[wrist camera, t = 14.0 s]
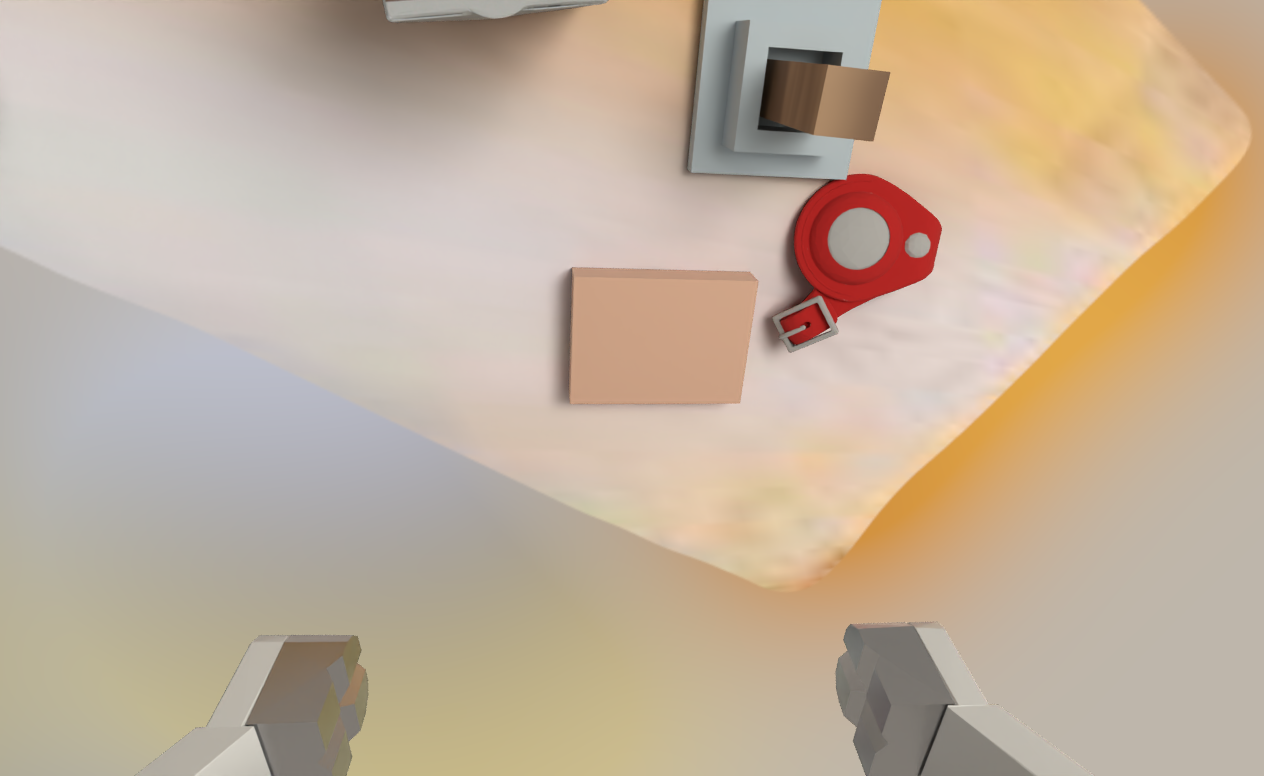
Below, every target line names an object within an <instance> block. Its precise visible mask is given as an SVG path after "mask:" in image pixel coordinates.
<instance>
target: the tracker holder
mask: <svg viewBox="0 0 1264 776" xmlns="http://www.w3.org/2000/svg"><path fill="white" fill-rule="evenodd" d="M941 231H942V227H941V224H940V222H939V221H938V219H937V218H936V217H935V216H934V215H933V214H932V213H930V212H929V211H928V210H927V209H926V208H924V207H923V206H922V205H921V204H919V203H918V202H917V201H916V200H915V199H913V198H912V197H911V196H910V195H908V194H907V193H905V192H904V191H902V190H901V189H899V188H898V187H896V186H895V185H893V184H891V183H890V182H888V181H886V180H884V179H882V178H879V177H877V176H874V175H869V174H854V175H848V176H847V179H846V180H841V179H836V180H834V181H831V182H829V183H828V184H826V185H825V186H823V187H822V188H821V189H819V190H818V191H817V192H816V193H815V194H814V195H813V196H812V197H811V198H810V199H809V201H808V202H807V203H806V205H805V206H804V208H803V210H802V211H801V213H800V216H799V218H798V220H797V224H796V228H795V234H794V250H795V256H796V260H797V263H798V265H799V267H800V270H801V272H802V273H803V275H804V276H805V278H806V279H807V281H808V282H809V283H810V284H811V285H812V286H813V287H814V289H813V291H812V292H811V293H810V294H809V295H808V297H807V298H806V299H805V300H804V301H803V302H802V303H801V304H799V305H797V306H795V307H792V308H790V309H788V310H786V311H784V312H781V313H779V314H777V315H775V316H773V318H772V320H773V322H774V323H775V325H776V327H777V329H778V331H779V333H780V336H779V338H780V339H783V341H784V343H785V345H786V347H787V349H788V351H789V352H794V351H796V350H799V349H801V348H804V347H806V346H809V345H811V344H814V343H816V342H819V341H821V340H823V339H826V338H828V337H831V336H833V335H836V334H838V332H839V330H838V328H837V326H836V324H835V323H836V322H837V317H839V316H841V315H842V314H844V313H846V312H847V311H849V310H851V309H853V308H855V307H857V306H859V305H861V304H863V303H865V302H867V301H869V300H871V299H873V298H875V297H878V296H881V295H884V294H887V293H890V292H893V291H896V290H898V289H901V288H904V287H906V286H909V285H911V284H914V283H917V282H919V281H921V280H923V279H925V278H926V277H927V276H928V275H929V274H930V273H931V272H932V270H933V268H934V262H935V257H936V253H937V249H938V244H939V240H940V235H941ZM829 328H831V331H829V332H826V333H824V334H821V335H819V334H820V333H822V332H824V331H825V330H827V329H829ZM817 335H819V336H817ZM815 336H816V337H815ZM813 337H814V338H813ZM794 344H796V345H794Z"/></svg>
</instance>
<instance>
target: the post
mask: <svg viewBox="0 0 1264 776" xmlns="http://www.w3.org/2000/svg"><path fill="white" fill-rule="evenodd" d="M889 76H890V72H884V71H876V70H868V69H860V68H852V67H843V66H835V65H827V64H816V63H805V62H795V61H784V60H773V59H767V64H766V71H765V78H764V86H763V93H762V100H761V107H760V115H759V117H762V118H765V119H768V120H771V121H774V122H777V123H780V124H783V125H785V126H788V127H791V128H794V129H797V130H800V131H803V132H806V133H808V134H811V135H816V136H826V137H835V138H845V139H854V140H864V141H873V140H874V136H875V132H876V128H877V124H878V120H879V116H880V112H881V108H882V104H883V100H884V96H885V92H886V88H887V84H888V80H889Z"/></svg>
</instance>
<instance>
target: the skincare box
mask: <svg viewBox="0 0 1264 776" xmlns="http://www.w3.org/2000/svg"><path fill="white" fill-rule="evenodd" d="M607 1H608V0H383V5H384V9H385V14H386V18H387V20H388V21H390V22H396V23H399V22H434V21H458V20H481V19H496V18H504V17H509V16H515V15H522V14H530V13H537V12H546V11H555V10H562V9H569V8H577V7H584V6H590V5H599V4H603V3H606V2H607Z"/></svg>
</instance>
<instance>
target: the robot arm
mask: <svg viewBox="0 0 1264 776" xmlns="http://www.w3.org/2000/svg"><path fill="white" fill-rule="evenodd" d="M843 640H844V643H845V645H846V648H847V650H848V651H846V652H845V653H844V654H843V655H842V656H841V657H839V659H838V663H837V668H836V690H837V695H838V699H839V703H840V706H841V709H842V712H843V715H844V716H845V717H846V718H847V719H848V720H849V721H850V722H851V723H852V724H854V725H855V726H856V727H857V728H856V732H855V736H854V739H853V742H854V745H855V748H856V750H857V753H858V756H859V759H860V761H861V764H862V767H863V769H864V772H865V775H866V776H1095V775H1093V774H1092V773H1090V772H1089V771H1088V770H1086V769H1085V768H1084V767H1082V766H1081V765H1079V764H1078V763H1077V762H1076V761H1074V760H1073V759H1071V758H1070V757H1069V756H1067V755H1066V754H1065V753H1063V752H1062V751H1061V750H1059V749H1058V748H1056V747H1055V746H1054V745H1052V744H1051V743H1050V742H1048V741H1047V740H1046V739H1044V738H1043V737H1042V736H1040V735H1039V734H1037V733H1036V732H1035V731H1033V730H1032V729H1030V728H1029V727H1028V726H1027V725H1025V724H1024V723H1022V722H1021V721H1020V720H1018V719H1017V718H1016V717H1014V716H1013V715H1012V714H1010V713H1009V712H1008V711H1006V710H1005V709H1003V708H1002V707H1001V706H999V705H998V704H989V703H988V702H987V700H986V698H985V697H984V695H983V693H982V692H981V690H980V688H979V686H978V685H977V683H976V681H975V680H974V678H973V676H972V675H971V673H970V671H969V669H968V668H967V666H966V664H965V663H964V661H963V659H962V657H961V656H960V654H959V652H958V651H957V649H956V647H955V645H954V644H953V642H952V640H951V639H950V637H949V635H948V634H947V632H946V630H945V628H944V627H943V626H942V625H941V624H940V623H938V622H909V623H905V622H897V623H867V624H850V625H849V626H848V628H847V629H846V632H845V635H844V639H843ZM360 653H361V647H360V644H359V640H358V637H357V636H354V635H276V636H275V635H270V636H269V635H260V636H258V637H257V638H256V639H255V640H254V641H253V642H252V643H251V644H250V645H249V647H248V649H247V651H246V653H245V655H244V656H243V659H242V660H241V662H240V664H239V666H238V668H237V670H236V672H235V673H234V676H233V677H232V679H231V681H230V683H229V685H228V687H227V688H226V690H225V692H224V694H223V696H222V698H221V700H220V702H219V703H218V706H217V707H216V709H215V711H214V713H213V715H212V717H211V719H210V720H209V722H208V724H207V726H206V727H199V728H195V729H194V730H192V731H191V732H190V733H188V734H187V735H186V736H185V737H183V738H182V739H181V740H179V741H178V742H177V743H176V744H174V745H173V746H172V747H170V748H169V749H168V750H167V751H165V752H164V753H163V754H161V755H160V756H159V757H158V758H157V759H155V760H154V761H153V762H151V763H150V764H149V765H147V766H146V767H145V768H144V769H142V770H141V771H140V772H138V773H137V774H136V775H135V776H346V775H347V771H348V768H349V765H350V762H351V759H352V754H351V750H350V746H349V741H350V740H351V739H352V738H353V737H354V736H355V735H356V734H357V733H358V732H359V731H360V730H361V727H362V723H363V720H364V717H365V713H366V706H367V699H368V679H367V674H366V670H365V669H364V668H363V667H362V666H361V665H359V664H358V663H357V662H358V659H359V656H360Z"/></svg>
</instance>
